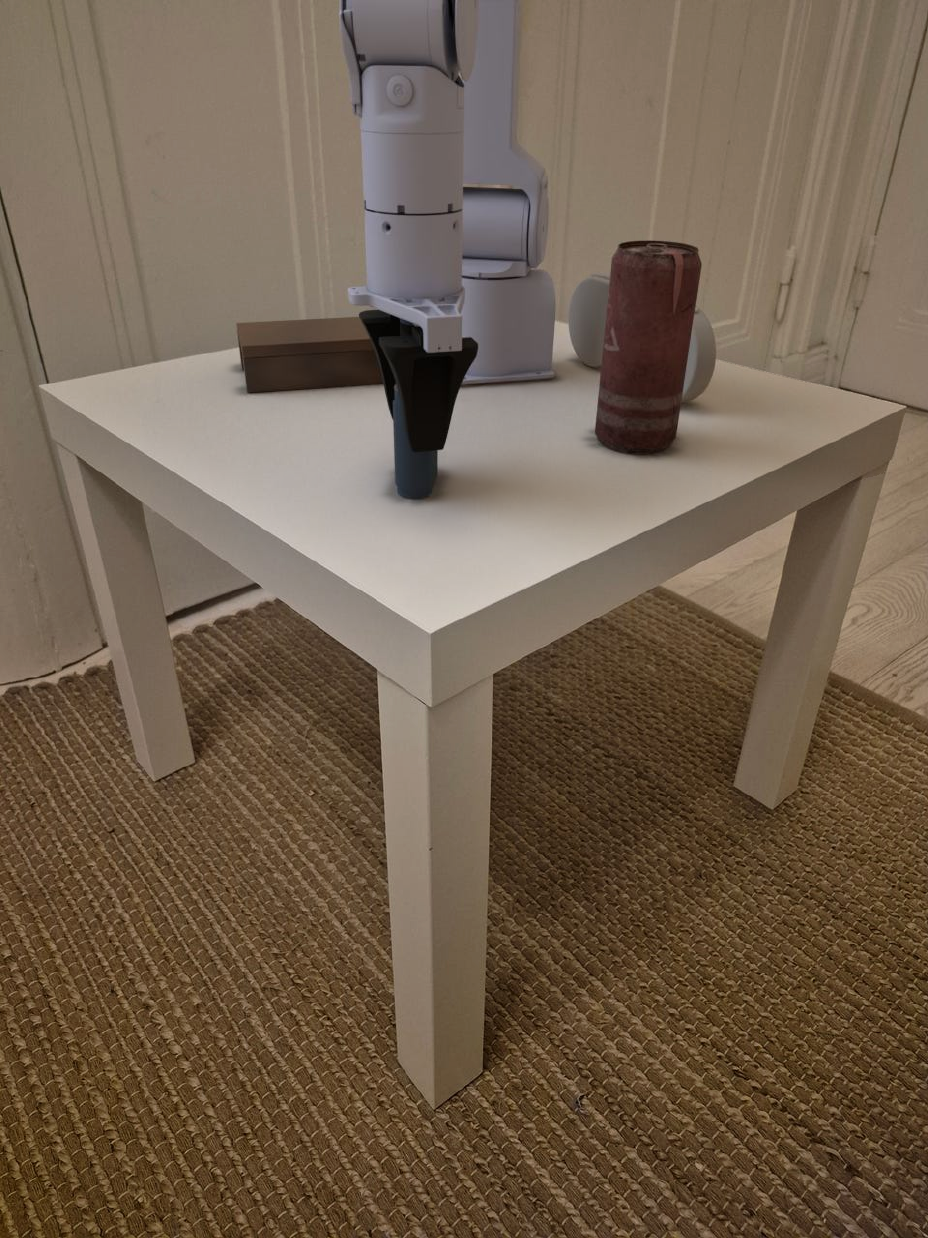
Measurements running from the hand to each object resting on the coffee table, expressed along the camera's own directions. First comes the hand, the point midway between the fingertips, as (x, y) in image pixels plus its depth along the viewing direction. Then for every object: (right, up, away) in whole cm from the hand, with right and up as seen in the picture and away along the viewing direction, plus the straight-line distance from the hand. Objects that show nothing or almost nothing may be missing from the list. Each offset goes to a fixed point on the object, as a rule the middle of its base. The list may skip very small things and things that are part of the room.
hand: (416, 433), depth 59 cm
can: (+16, +1, +9) cm, 19 cm away
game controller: (+18, +9, +22) cm, 30 cm away
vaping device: (0, -3, +2) cm, 4 cm away
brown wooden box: (-11, +10, +23) cm, 27 cm away
